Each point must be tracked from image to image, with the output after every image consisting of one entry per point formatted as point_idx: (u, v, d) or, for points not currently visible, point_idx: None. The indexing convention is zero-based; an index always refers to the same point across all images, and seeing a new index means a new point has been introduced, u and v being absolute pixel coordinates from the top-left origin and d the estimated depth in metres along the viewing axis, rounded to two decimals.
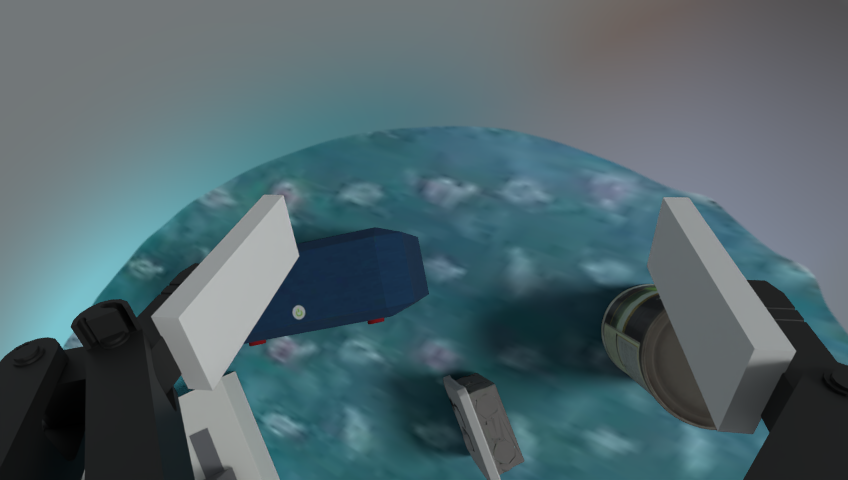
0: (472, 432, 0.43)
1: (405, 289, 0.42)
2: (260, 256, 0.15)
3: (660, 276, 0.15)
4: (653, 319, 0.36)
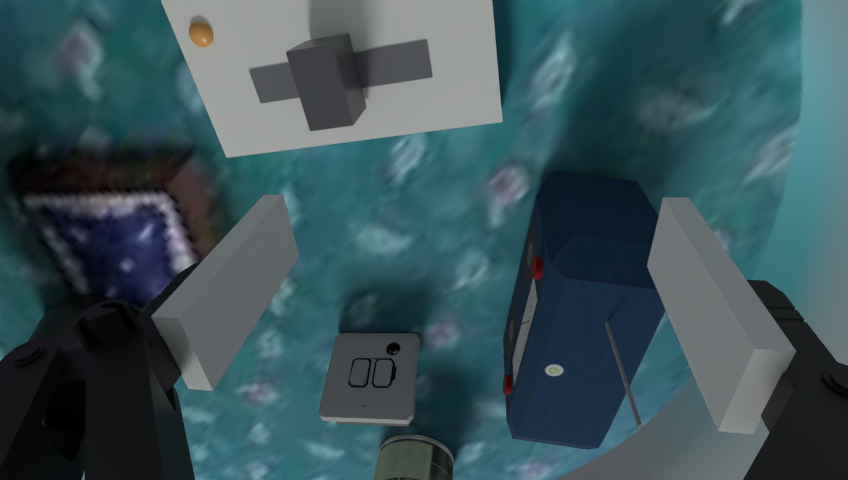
0: (371, 415, 0.44)
1: (528, 440, 0.39)
2: (260, 257, 0.15)
3: (660, 277, 0.15)
4: None
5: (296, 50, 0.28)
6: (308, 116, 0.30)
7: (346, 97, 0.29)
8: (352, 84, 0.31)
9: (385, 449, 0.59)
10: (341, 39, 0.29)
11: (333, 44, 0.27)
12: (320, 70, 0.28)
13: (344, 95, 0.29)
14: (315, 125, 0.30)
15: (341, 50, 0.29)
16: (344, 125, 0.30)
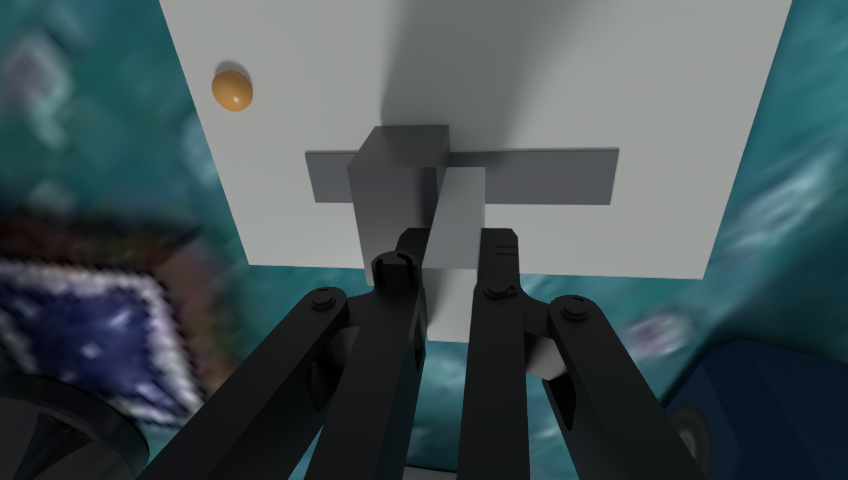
0: None
1: None
2: None
3: None
4: None
5: (367, 167, 0.15)
6: (369, 265, 0.17)
7: None
8: None
9: None
10: (443, 145, 0.17)
11: (436, 167, 0.15)
12: (404, 203, 0.16)
13: None
14: None
15: (442, 166, 0.16)
16: None
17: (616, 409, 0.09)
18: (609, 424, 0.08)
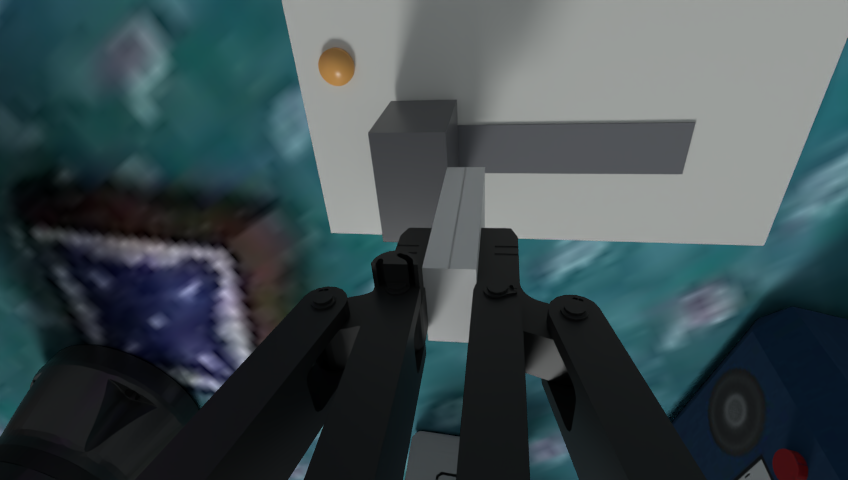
0: None
1: None
2: None
3: None
4: None
5: (385, 133, 0.18)
6: (385, 222, 0.20)
7: None
8: None
9: None
10: (451, 116, 0.19)
11: (446, 132, 0.17)
12: (418, 165, 0.18)
13: None
14: (393, 235, 0.20)
15: (450, 134, 0.19)
16: None
17: (615, 409, 0.09)
18: (608, 424, 0.08)
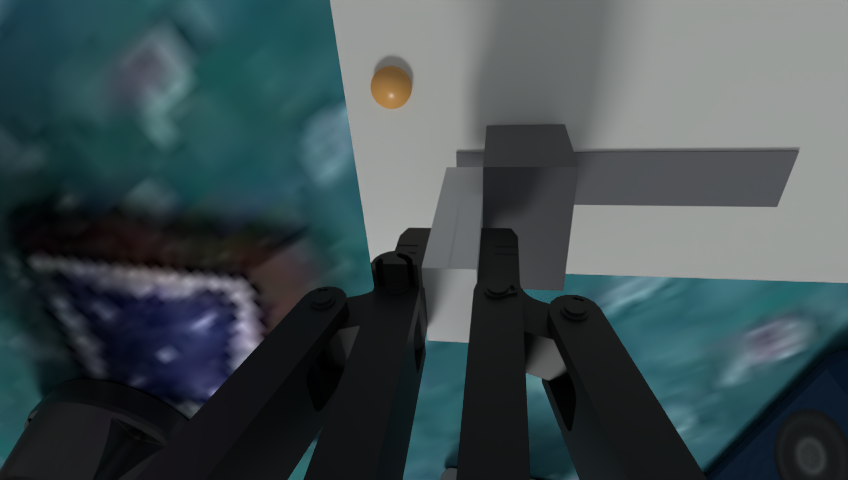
0: None
1: None
2: None
3: None
4: None
5: (504, 167, 0.15)
6: None
7: (567, 249, 0.16)
8: None
9: None
10: None
11: (578, 167, 0.15)
12: (538, 204, 0.15)
13: (567, 246, 0.16)
14: None
15: None
16: (547, 288, 0.17)
17: (616, 409, 0.09)
18: (609, 424, 0.08)
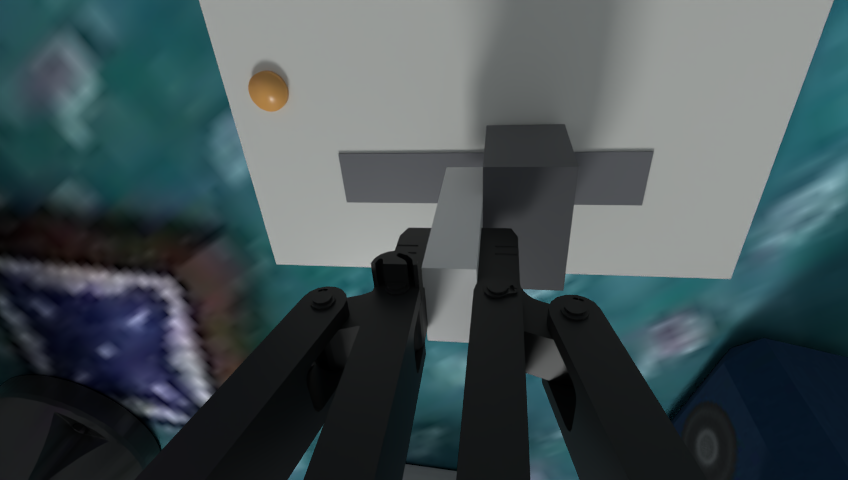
0: None
1: None
2: None
3: None
4: None
5: (504, 167, 0.15)
6: None
7: (567, 249, 0.16)
8: None
9: None
10: (570, 145, 0.16)
11: (577, 166, 0.15)
12: (538, 203, 0.15)
13: (567, 246, 0.16)
14: None
15: None
16: (547, 288, 0.17)
17: (616, 409, 0.09)
18: (609, 424, 0.08)
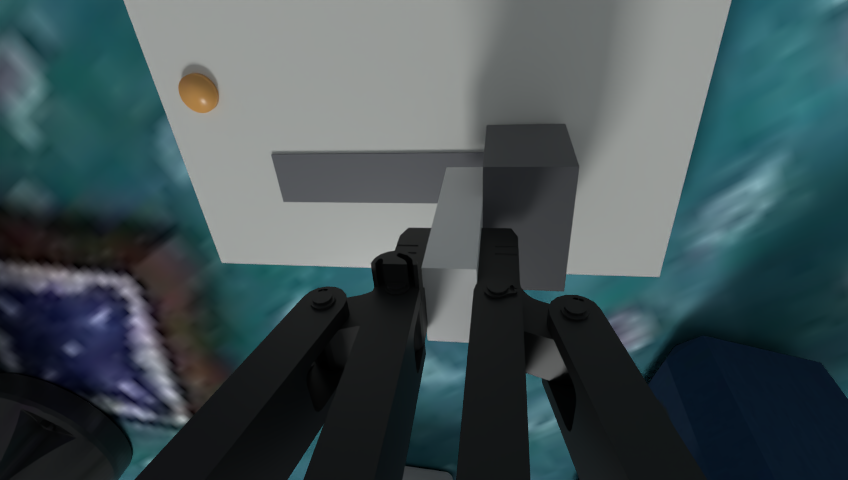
0: None
1: None
2: None
3: None
4: None
5: (504, 167, 0.15)
6: None
7: (568, 249, 0.16)
8: None
9: None
10: None
11: (578, 166, 0.15)
12: (538, 204, 0.15)
13: (568, 247, 0.16)
14: None
15: None
16: (548, 288, 0.17)
17: (616, 409, 0.09)
18: (609, 424, 0.08)
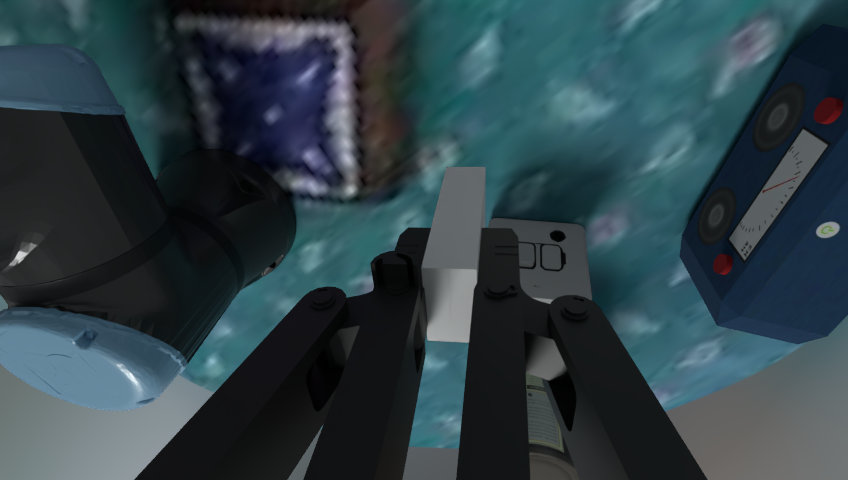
0: (545, 296, 0.40)
1: (738, 327, 0.36)
2: None
3: None
4: None
5: None
6: None
7: None
8: None
9: None
10: None
11: None
12: None
13: None
14: None
15: None
16: None
17: (616, 409, 0.09)
18: (609, 424, 0.08)
